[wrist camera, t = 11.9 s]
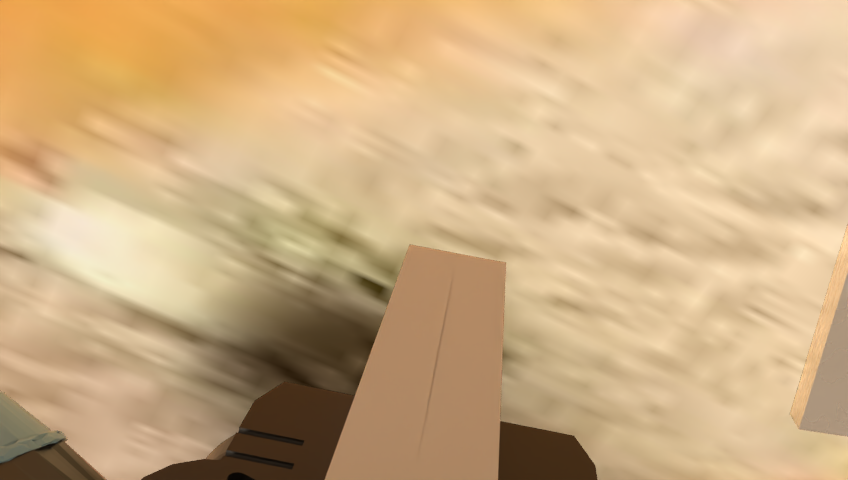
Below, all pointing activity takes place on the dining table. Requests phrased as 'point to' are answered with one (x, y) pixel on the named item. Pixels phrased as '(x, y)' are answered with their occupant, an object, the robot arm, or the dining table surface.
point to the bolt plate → (827, 361)
